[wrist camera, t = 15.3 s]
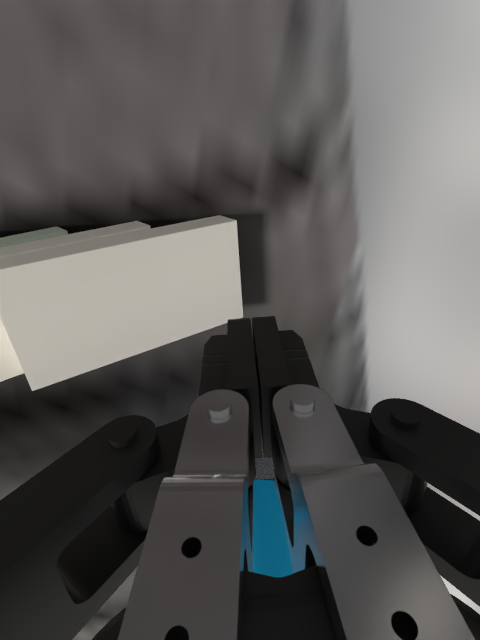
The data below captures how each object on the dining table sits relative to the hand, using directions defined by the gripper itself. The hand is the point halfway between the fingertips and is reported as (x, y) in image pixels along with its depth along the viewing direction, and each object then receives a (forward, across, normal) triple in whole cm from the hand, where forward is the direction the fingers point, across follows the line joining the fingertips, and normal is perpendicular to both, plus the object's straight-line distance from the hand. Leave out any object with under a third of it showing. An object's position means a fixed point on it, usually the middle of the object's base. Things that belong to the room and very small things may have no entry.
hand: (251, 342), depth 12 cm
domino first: (+7, +1, 0) cm, 7 cm away
